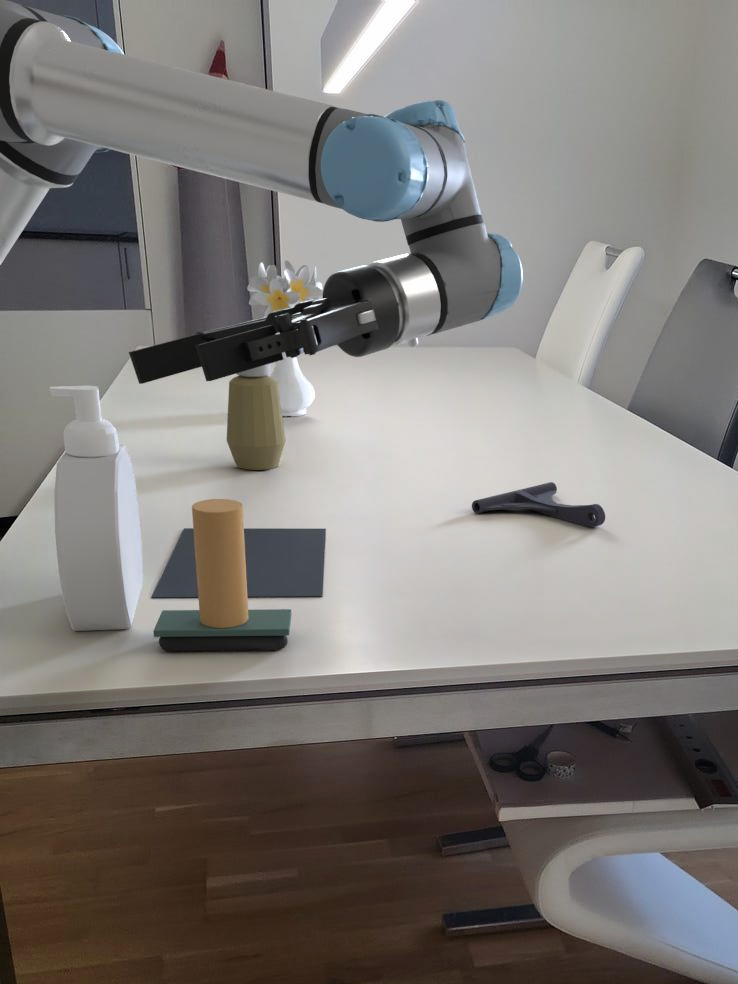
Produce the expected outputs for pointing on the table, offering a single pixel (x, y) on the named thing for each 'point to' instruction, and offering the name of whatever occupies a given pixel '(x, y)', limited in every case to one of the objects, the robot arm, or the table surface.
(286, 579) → the wipe mat
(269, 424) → the squeeze bottle
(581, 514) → the bracket
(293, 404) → the flower vase
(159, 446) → the table surface
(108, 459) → the soap bottle
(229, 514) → the wiper
